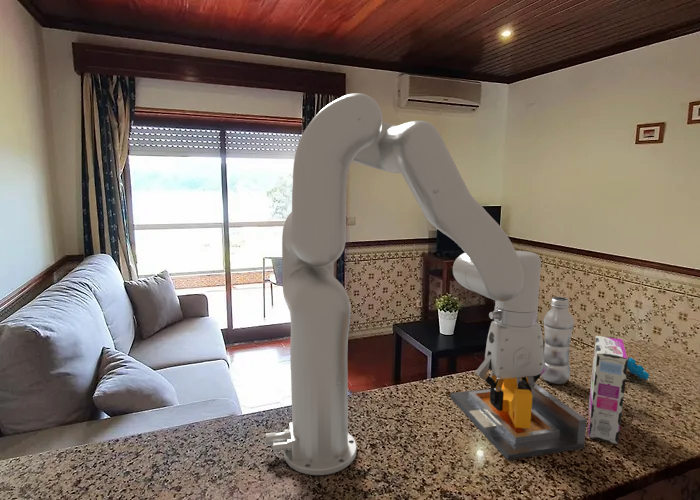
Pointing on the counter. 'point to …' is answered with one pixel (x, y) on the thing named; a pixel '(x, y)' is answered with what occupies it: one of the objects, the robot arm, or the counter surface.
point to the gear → (637, 369)
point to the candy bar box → (607, 389)
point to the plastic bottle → (557, 341)
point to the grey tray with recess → (541, 438)
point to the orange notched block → (517, 403)
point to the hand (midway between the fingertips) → (509, 404)
